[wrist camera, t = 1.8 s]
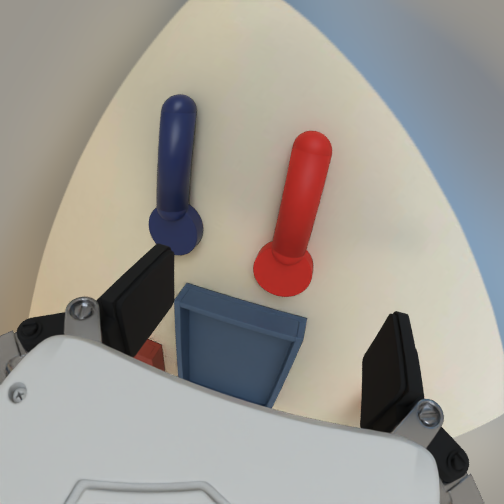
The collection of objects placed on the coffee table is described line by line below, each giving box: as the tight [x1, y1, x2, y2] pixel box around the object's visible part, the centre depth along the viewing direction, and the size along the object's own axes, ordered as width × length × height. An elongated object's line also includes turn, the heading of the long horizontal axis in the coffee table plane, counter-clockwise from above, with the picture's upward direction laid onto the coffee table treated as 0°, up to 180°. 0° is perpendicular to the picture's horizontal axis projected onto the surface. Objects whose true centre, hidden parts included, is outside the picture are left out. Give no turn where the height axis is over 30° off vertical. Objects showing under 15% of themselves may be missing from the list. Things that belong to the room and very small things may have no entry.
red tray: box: [133, 339, 165, 371], centre depth 36 cm, size 11×16×3 cm
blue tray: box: [174, 283, 307, 409], centre depth 28 cm, size 11×16×3 cm
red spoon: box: [253, 131, 332, 297], centre depth 19 cm, size 4×13×2 cm, turn 171°
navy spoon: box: [149, 94, 203, 255], centre depth 20 cm, size 4×13×2 cm, turn 171°
